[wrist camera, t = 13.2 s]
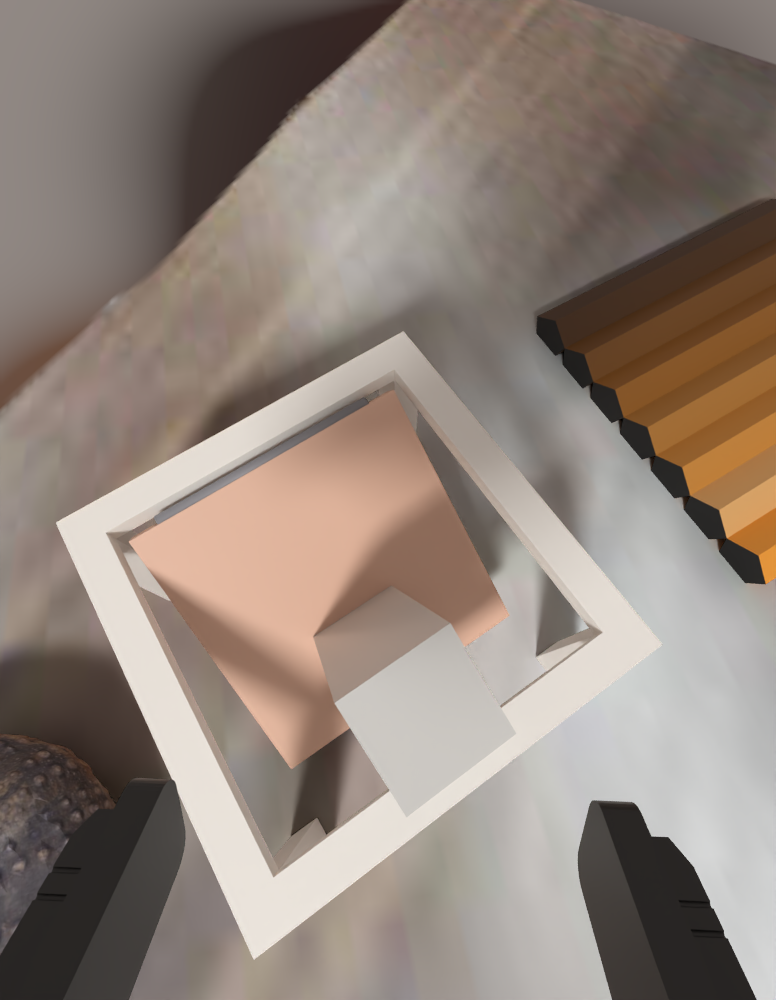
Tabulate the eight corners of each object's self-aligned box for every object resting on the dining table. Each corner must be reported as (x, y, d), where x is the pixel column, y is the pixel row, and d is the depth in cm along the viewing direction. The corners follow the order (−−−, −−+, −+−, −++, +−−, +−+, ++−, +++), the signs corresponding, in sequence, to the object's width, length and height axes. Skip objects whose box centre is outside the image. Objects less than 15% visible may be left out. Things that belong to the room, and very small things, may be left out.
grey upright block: (391, 585, 29) (450, 623, 20) (436, 660, 30) (516, 733, 20) (312, 636, 28) (334, 703, 19) (361, 713, 29) (406, 817, 19)
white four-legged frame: (401, 435, 40) (403, 331, 29) (575, 665, 34) (662, 644, 23) (159, 579, 37) (55, 522, 25) (306, 867, 30) (253, 959, 19)
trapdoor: (384, 384, 29) (389, 382, 28) (501, 610, 33) (509, 615, 32) (126, 530, 26) (123, 534, 25) (289, 758, 30) (291, 769, 29)
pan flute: (756, 219, 49) (531, 333, 44) (781, 185, 46) (541, 304, 41) (993, 427, 41) (746, 590, 36) (1043, 403, 37) (779, 579, 33)
